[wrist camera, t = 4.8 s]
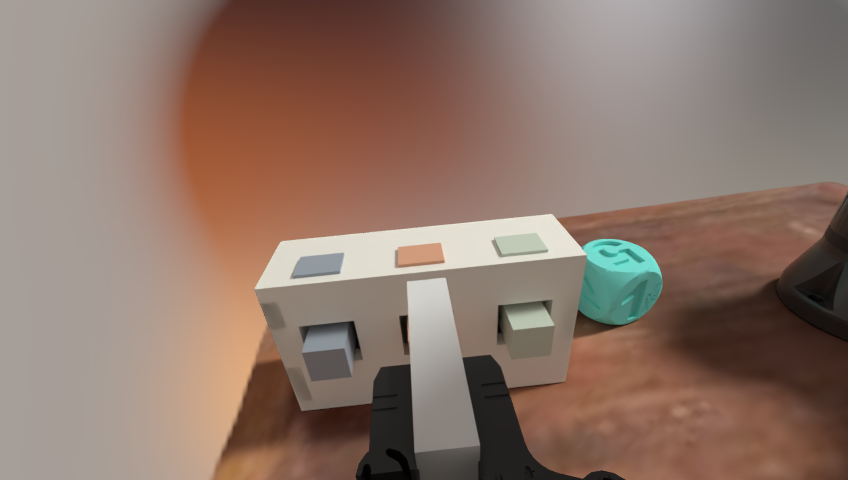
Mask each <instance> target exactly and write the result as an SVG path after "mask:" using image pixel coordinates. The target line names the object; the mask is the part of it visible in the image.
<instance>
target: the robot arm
mask: <svg viewBox="0 0 848 480" xmlns="http://www.w3.org/2000/svg"><path fill="white" fill-rule="evenodd" d="M776 291H777V294H778V296H779V298H780V299H781V300H782V302H783V303H784V304H785V305H786V306H787V307H788V308H789V309H791V310H792V311H793V312H794V313H796V314H797V315H798V316H800V317H801V318H803V319H804V320H806V321H808V322H809V323H811V324H813V325H815V326H817V327H819V328H821V329H822V330H825V331H827V332H829V333H831V334H833V335H836V336H838V337H840V338H843V339H845V340H848V192H847V193H846V195H845V197H844V199H843V201H842V202H841V204H840V206H839V208H838V209H837V211H836V213H835V215H834V217H833V218H832V220H831V222H830V224H829V226H828V228H827V230H826V232H825V233H824V235H823V237H822V238H821V239H820V240H819V241H818V242H816V243H815V244H814V245H813V246H812V247H810V248H809V249H808V250H807V251H806V252H804V253H803V254H802V255H801V256H800V257H798V258H797V259H796V260H795V261H794V262H792V263H791V264H790V265H789V266H788V267H787V268H786V269H785V270H784V271H783V273H782V275H781V277H780V279H779V281H778V283H777V285H776ZM407 296H408V318H409V341H410V363H411V364H405V365H396V366H386V367H381V368H380V370H379V372H378V374H377V376H376V377H375V379H374V382H373V400H372V413H371V429H370V444H369V452H367V453H366V454H365V456H364V457H363V459H362V460H361V462H360V463H359V465H358V469H357V473H356V479H357V480H625V479H623V478H621V477H620V476H618V475H616V474H615V473H611V472H607V471H595V472H591V473H590V474H588V475H587V476H586V477H584V478H583V479H581V478H577V477H573V476H568V475H564V474H560V473H557V472H554V471H551V470H549V469H547V468H546V467H544V466H542V465H541V464H540V463H539V462H538V461H536V460H535V459H534V458H533V456H532V455H531V454H530V452H529V451H528V449H527V446H526V444H525V441H524V438H523V435H522V432H521V429H520V426H519V422H518V419H517V416H516V413H515V410H514V407H513V403H512V400H511V397H510V395H509V391H508V388H507V385H506V381H505V378H504V375H503V372H502V369H501V366H500V365H499V364H498V363H497V362H496V360H495V359H494V358H493V357H492V356H491V355H481V356H472V357H462V355H461V350H460V345H459V340H458V335H457V330H456V326H455V321H454V316H453V311H452V306H451V301H450V296H449V292H448V287H447V282H446V278H437V279H427V280H417V281H407Z"/></svg>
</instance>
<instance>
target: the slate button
mask: <svg viewBox="0 0 848 480" xmlns="http://www.w3.org/2000/svg"><path fill="white" fill-rule="evenodd" d="M356 341H357V334H356V330H355V326H354V321H347V322H338V323H328V324H319V325H310V326H309V329H308V333H307V336H306V340H305V343H304V346H303V350H302V355H303V358H304V361H305V364H306V367H307V370H308V373H309V376H310V378H311V381H321V380H330V379H339V378H348V377H352V372H353V364H354V356H355V348H356Z"/></svg>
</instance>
